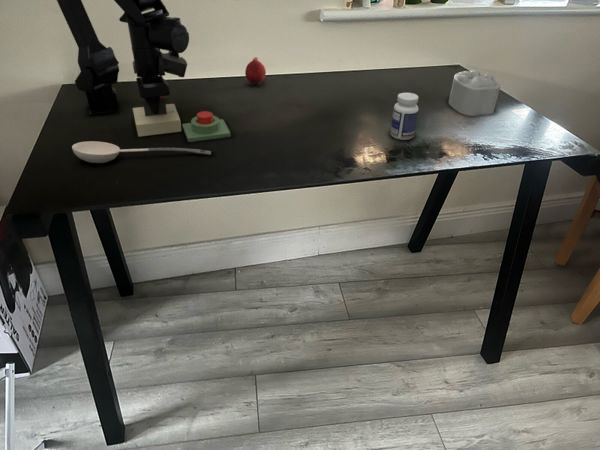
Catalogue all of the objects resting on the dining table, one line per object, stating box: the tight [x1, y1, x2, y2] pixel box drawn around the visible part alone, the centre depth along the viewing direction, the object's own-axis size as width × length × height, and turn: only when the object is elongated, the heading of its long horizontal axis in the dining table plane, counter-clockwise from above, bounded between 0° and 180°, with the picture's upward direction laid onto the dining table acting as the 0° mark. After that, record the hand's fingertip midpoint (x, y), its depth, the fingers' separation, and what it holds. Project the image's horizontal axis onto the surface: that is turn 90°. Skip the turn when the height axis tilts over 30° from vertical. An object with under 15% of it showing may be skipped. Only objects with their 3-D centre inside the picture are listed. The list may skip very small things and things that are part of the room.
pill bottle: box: [389, 92, 419, 141], centre depth 115 cm, size 6×6×10 cm
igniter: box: [181, 114, 232, 143], centre depth 116 cm, size 10×8×3 cm
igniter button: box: [196, 110, 214, 125], centre depth 114 cm, size 4×4×2 cm
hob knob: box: [141, 96, 167, 116], centre depth 116 cm, size 5×2×4 cm, turn 110°
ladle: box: [71, 140, 212, 164], centre depth 105 cm, size 6×28×5 cm, turn 101°
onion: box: [244, 56, 267, 86], centre depth 139 cm, size 6×6×8 cm
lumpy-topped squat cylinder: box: [448, 69, 501, 117], centre depth 132 cm, size 10×13×9 cm
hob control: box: [132, 103, 183, 138], centre depth 118 cm, size 10×10×3 cm
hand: (155, 111), depth 117 cm, fingers closed on hob knob, 2 cm apart
